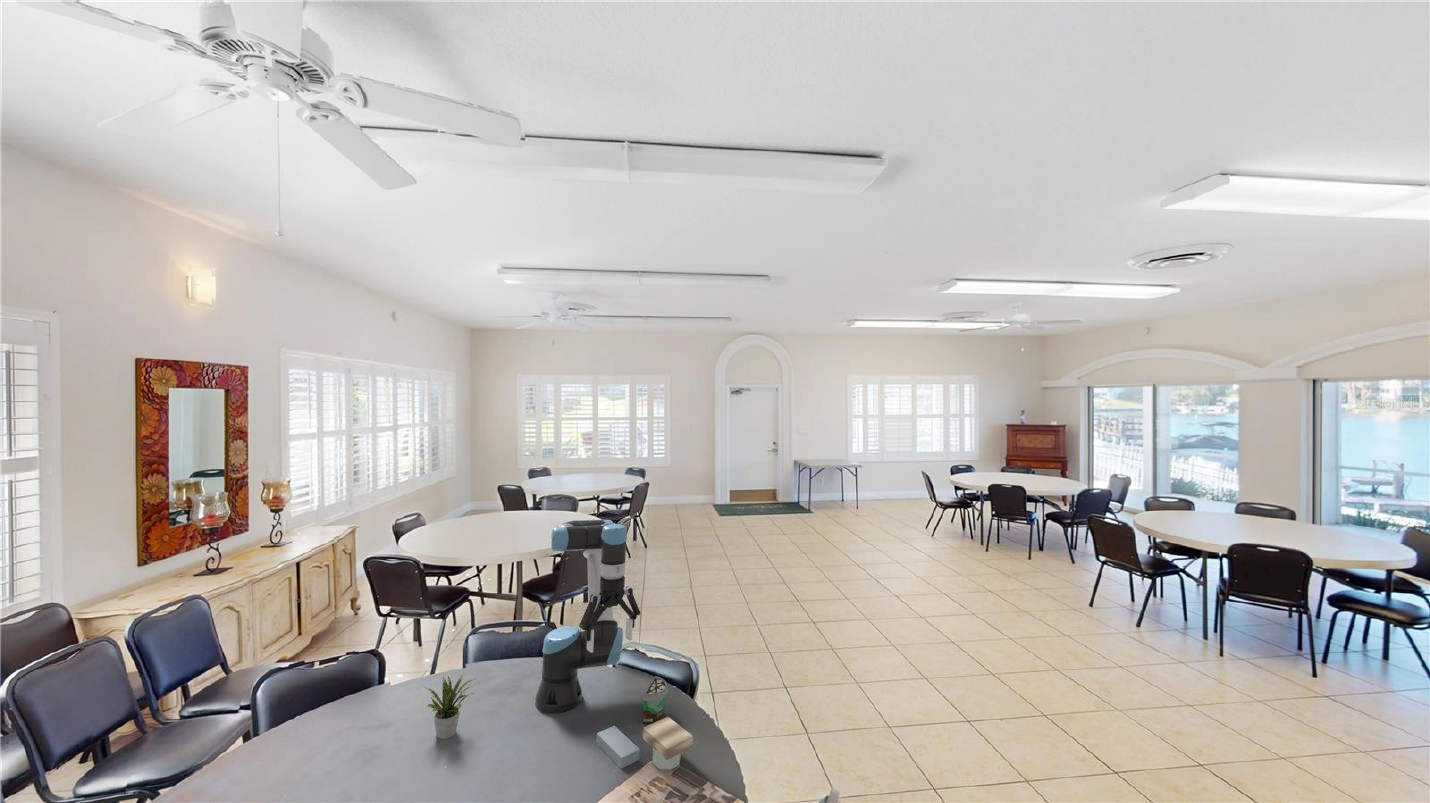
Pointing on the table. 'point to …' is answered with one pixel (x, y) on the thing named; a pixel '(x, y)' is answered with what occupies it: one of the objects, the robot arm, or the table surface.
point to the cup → (665, 761)
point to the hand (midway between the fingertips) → (609, 644)
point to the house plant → (447, 708)
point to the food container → (654, 701)
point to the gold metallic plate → (667, 738)
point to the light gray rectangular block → (618, 747)
